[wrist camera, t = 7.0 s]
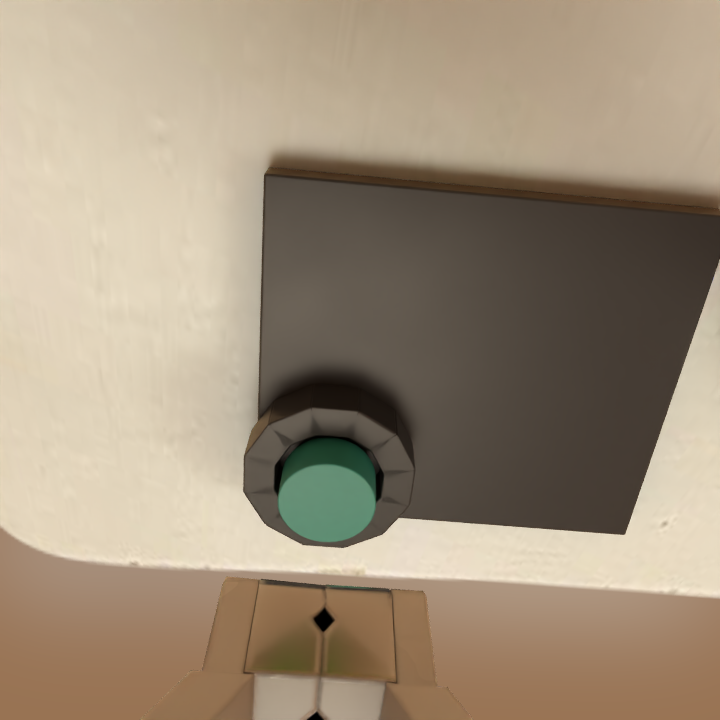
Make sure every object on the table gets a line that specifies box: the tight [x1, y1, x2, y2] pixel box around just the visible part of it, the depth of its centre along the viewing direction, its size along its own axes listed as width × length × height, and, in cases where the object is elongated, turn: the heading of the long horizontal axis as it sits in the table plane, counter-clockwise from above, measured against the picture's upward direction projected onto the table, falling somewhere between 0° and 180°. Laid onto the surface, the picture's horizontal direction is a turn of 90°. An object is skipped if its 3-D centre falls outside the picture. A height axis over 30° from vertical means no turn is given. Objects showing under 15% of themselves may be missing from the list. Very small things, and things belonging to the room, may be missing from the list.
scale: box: [243, 167, 720, 548], centre depth 25 cm, size 16×14×3 cm
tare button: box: [277, 437, 376, 542], centre depth 25 cm, size 4×4×2 cm
